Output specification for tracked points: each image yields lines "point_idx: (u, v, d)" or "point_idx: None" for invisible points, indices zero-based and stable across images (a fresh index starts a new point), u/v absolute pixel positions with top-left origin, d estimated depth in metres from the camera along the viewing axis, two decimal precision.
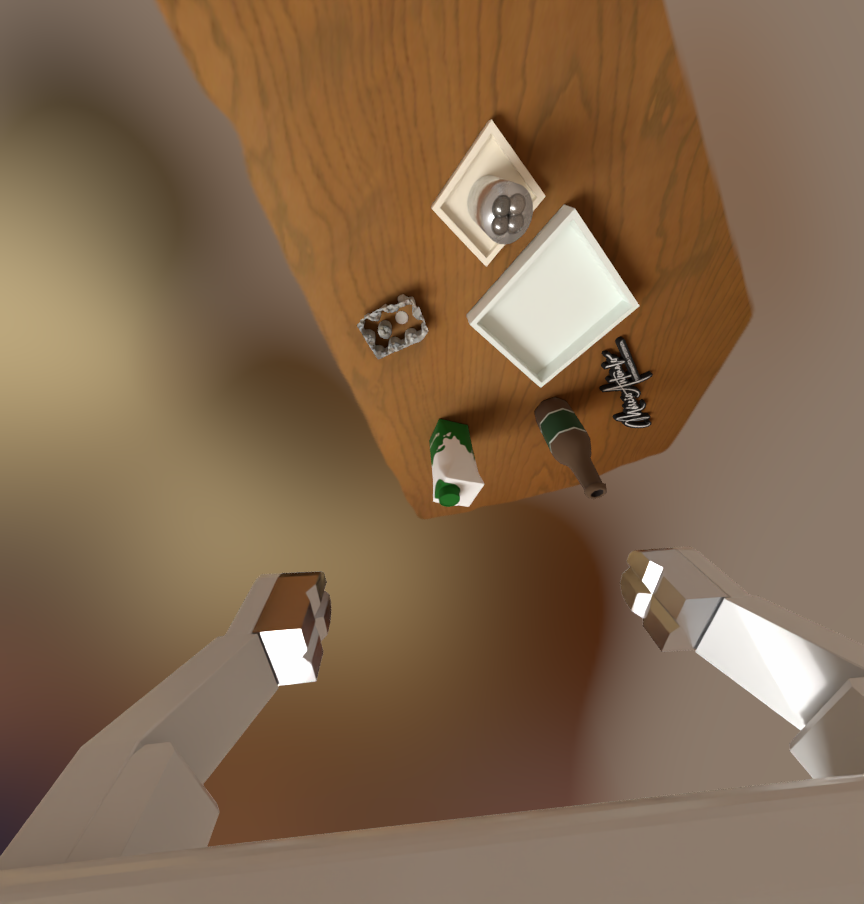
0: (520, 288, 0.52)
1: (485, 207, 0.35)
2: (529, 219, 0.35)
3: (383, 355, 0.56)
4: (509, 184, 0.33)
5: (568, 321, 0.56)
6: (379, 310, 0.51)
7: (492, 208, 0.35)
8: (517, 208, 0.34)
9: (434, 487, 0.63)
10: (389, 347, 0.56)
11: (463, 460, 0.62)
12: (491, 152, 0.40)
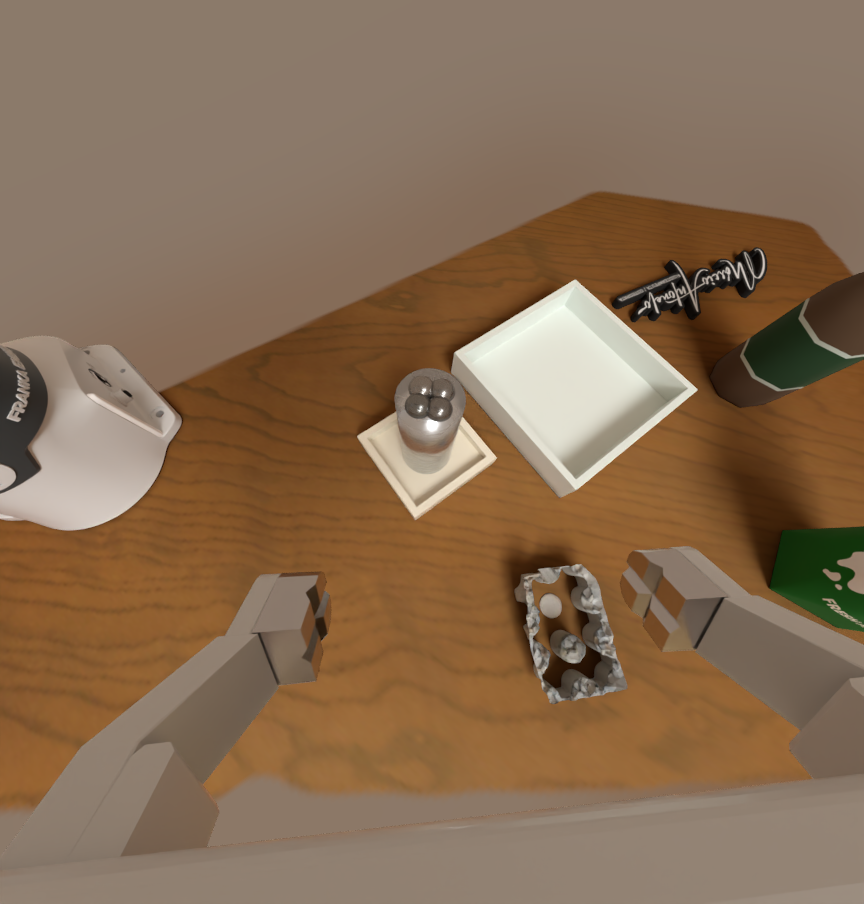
0: (532, 418, 0.38)
1: (413, 427, 0.24)
2: (442, 372, 0.25)
3: (619, 672, 0.27)
4: (396, 394, 0.24)
5: (585, 361, 0.41)
6: (532, 643, 0.29)
7: (416, 418, 0.24)
8: (424, 383, 0.24)
9: None
10: (603, 651, 0.28)
11: None
12: (384, 441, 0.36)
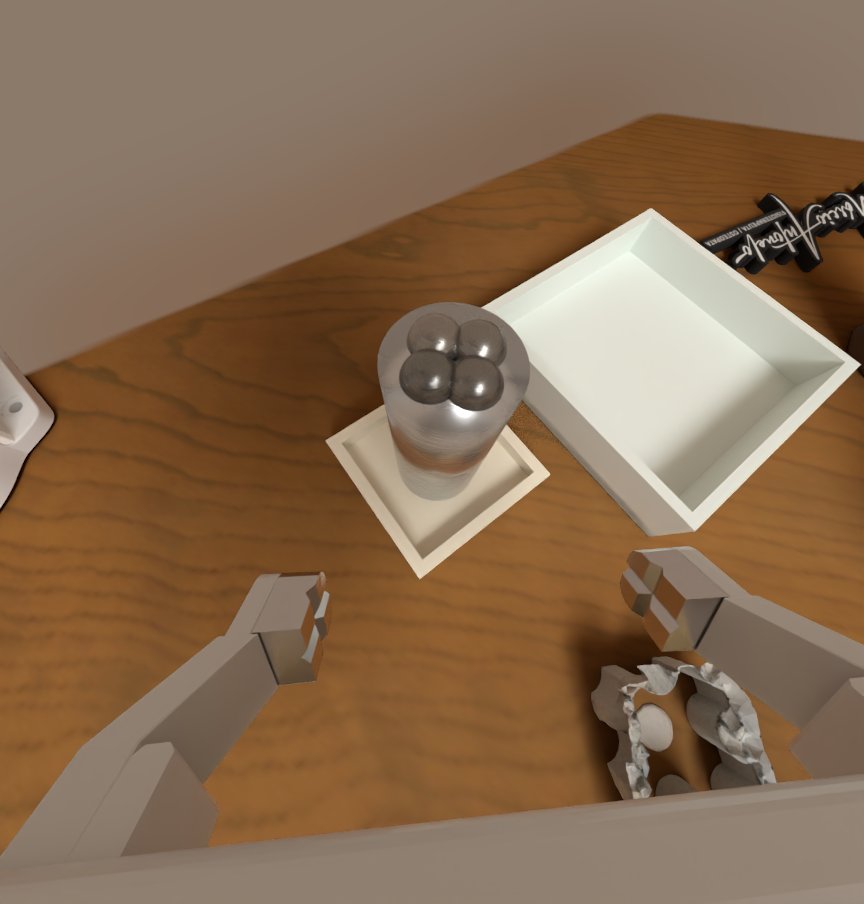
0: (598, 411, 0.25)
1: (418, 423, 0.11)
2: (477, 310, 0.12)
3: None
4: (381, 353, 0.11)
5: (668, 328, 0.28)
6: None
7: (425, 403, 0.11)
8: (441, 326, 0.11)
9: None
10: None
11: None
12: (370, 447, 0.23)
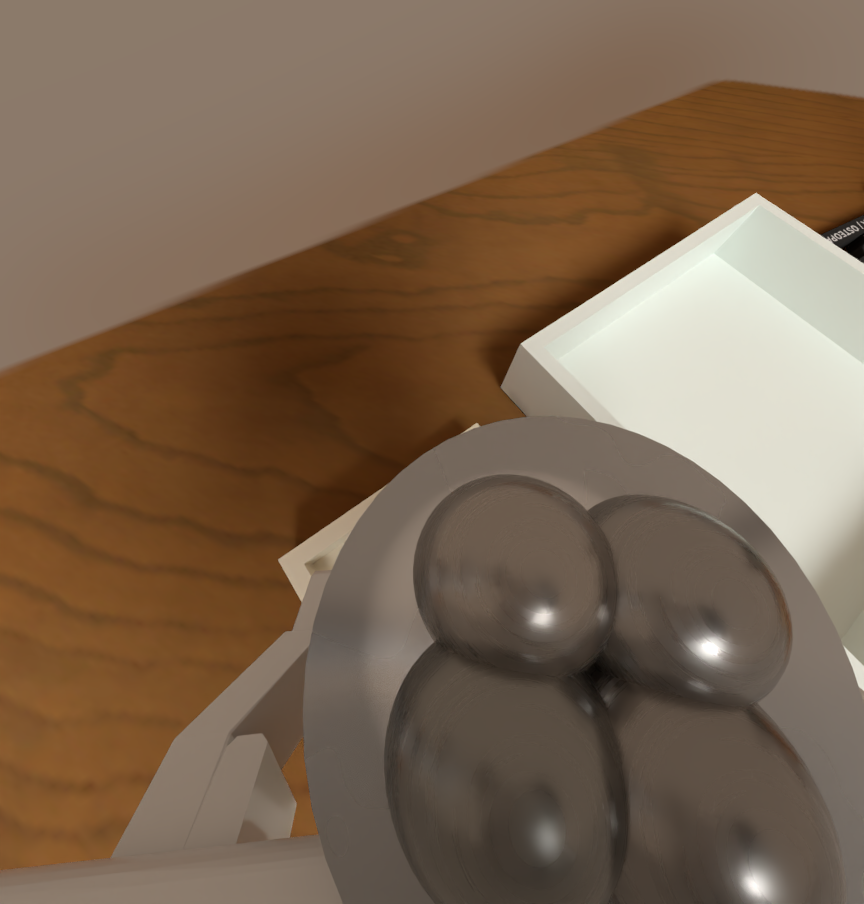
0: None
1: None
2: (630, 445, 0.04)
3: None
4: (321, 635, 0.03)
5: (783, 363, 0.19)
6: None
7: None
8: (556, 578, 0.03)
9: None
10: None
11: None
12: None
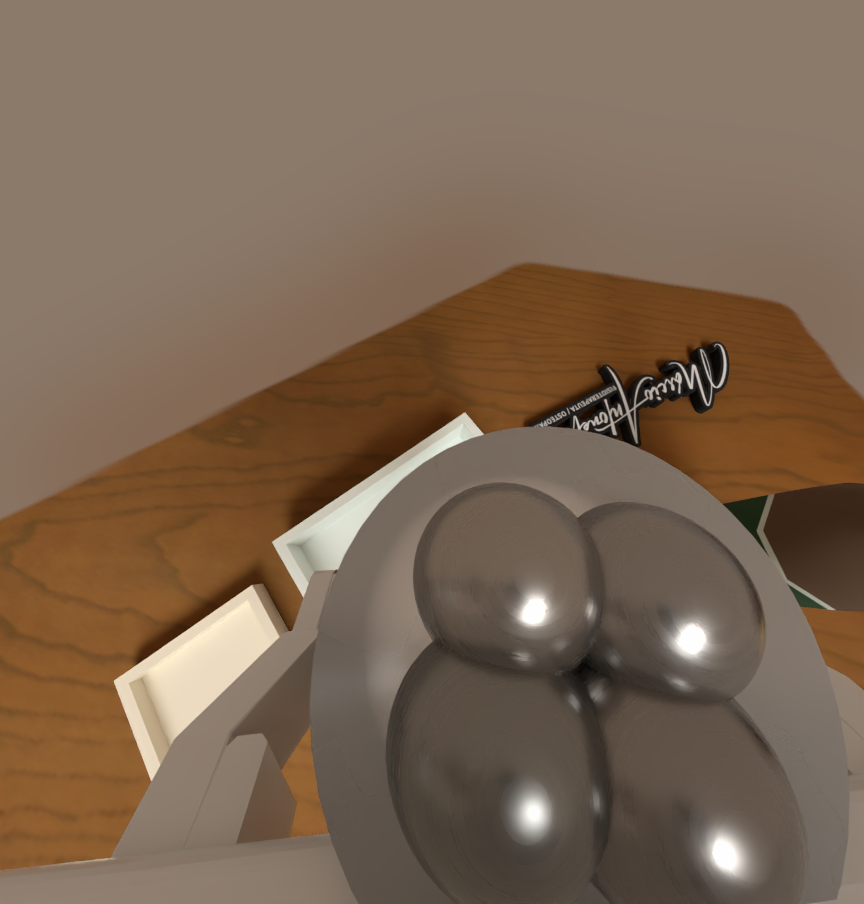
0: None
1: None
2: (619, 454, 0.04)
3: None
4: (327, 635, 0.03)
5: None
6: None
7: None
8: (546, 581, 0.03)
9: None
10: None
11: None
12: (166, 675, 0.25)
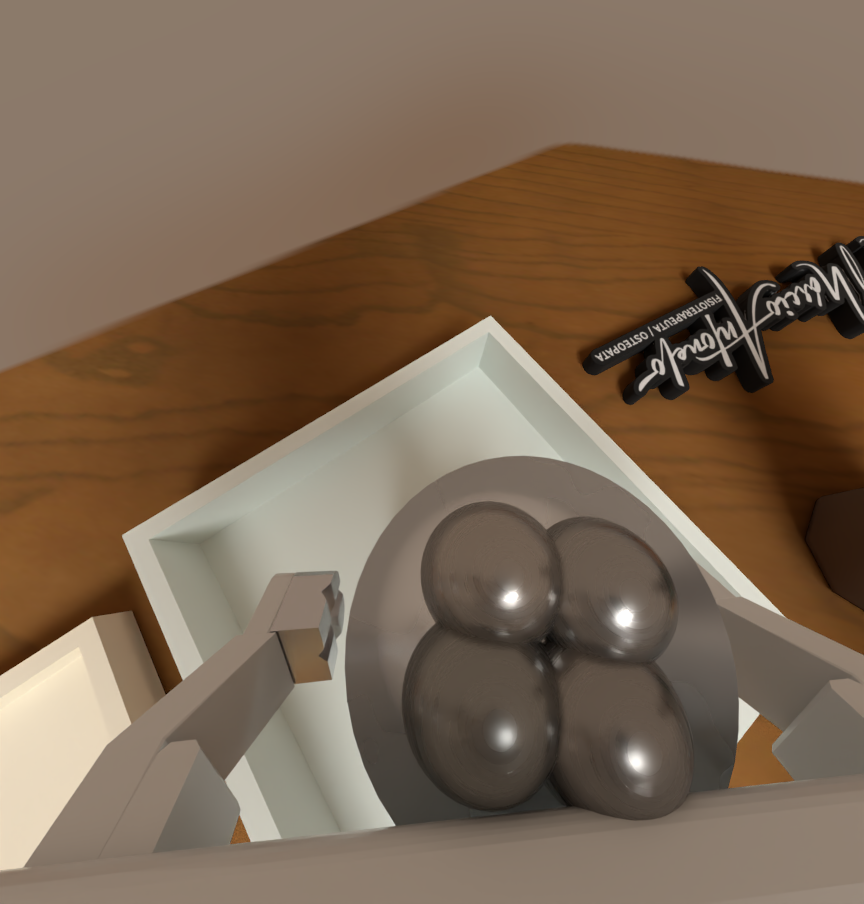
0: None
1: None
2: (582, 478, 0.05)
3: None
4: (356, 618, 0.04)
5: None
6: None
7: (476, 804, 0.04)
8: (518, 577, 0.04)
9: None
10: None
11: None
12: None
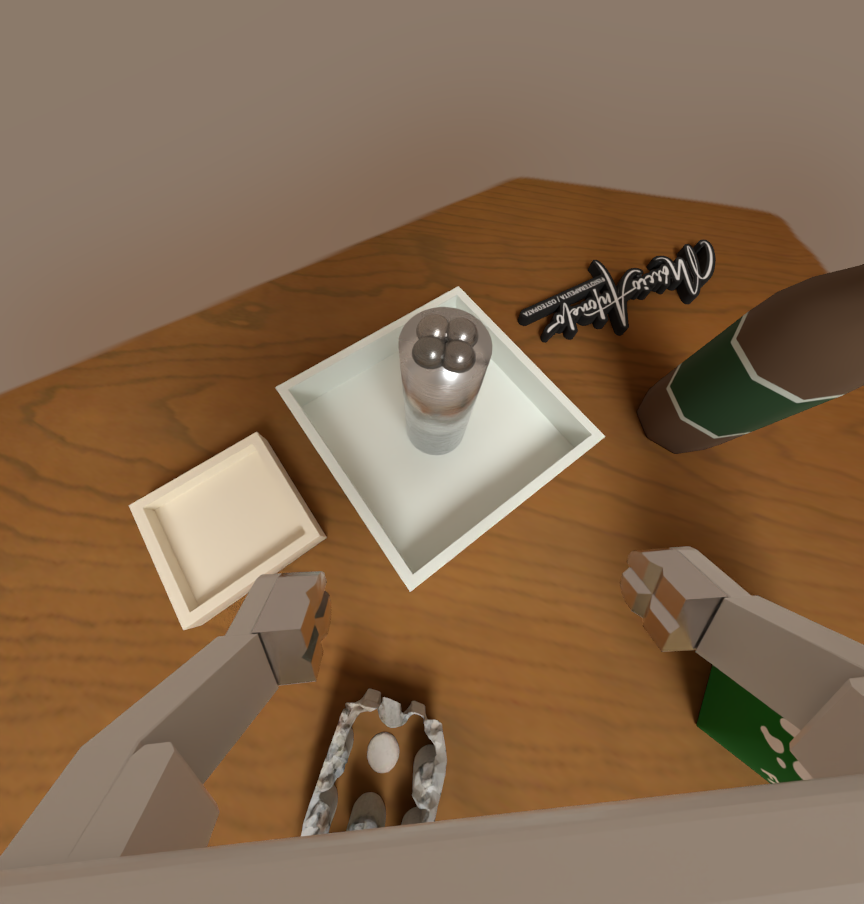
0: (387, 474, 0.28)
1: (423, 380, 0.18)
2: (460, 312, 0.19)
3: None
4: (400, 338, 0.18)
5: None
6: (315, 800, 0.19)
7: (427, 368, 0.18)
8: (437, 322, 0.18)
9: None
10: None
11: None
12: (176, 508, 0.26)
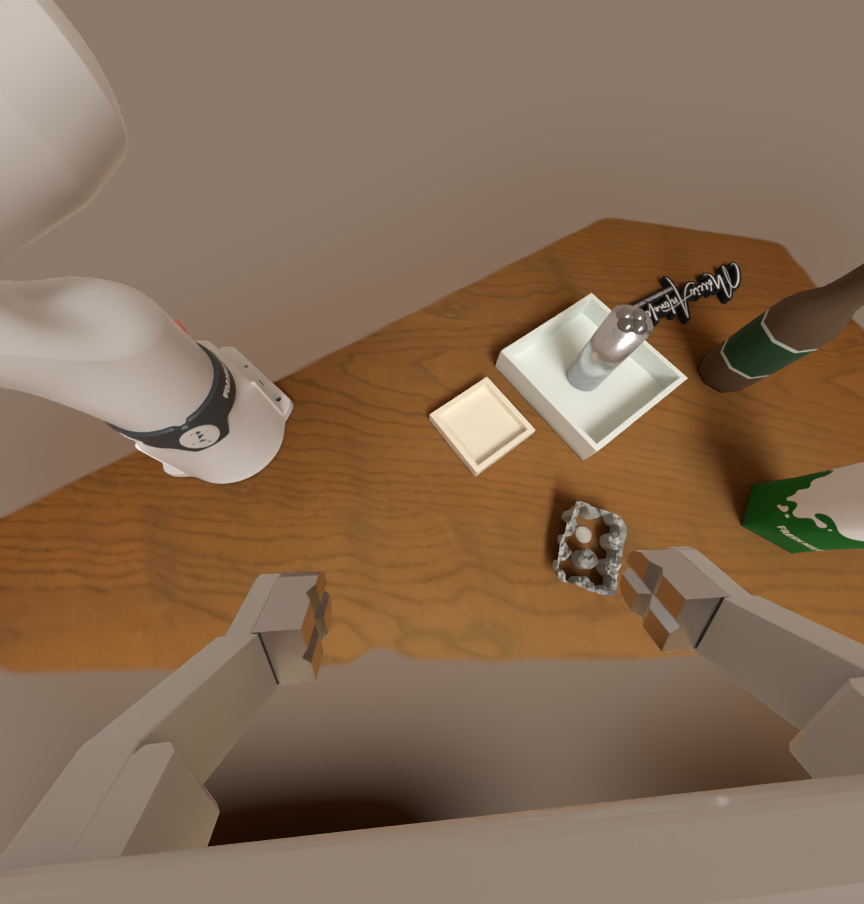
0: (560, 401, 0.49)
1: (624, 338, 0.38)
2: (634, 307, 0.40)
3: (614, 587, 0.38)
4: (610, 319, 0.39)
5: None
6: (562, 541, 0.40)
7: (626, 332, 0.39)
8: (629, 311, 0.39)
9: None
10: (609, 571, 0.39)
11: (860, 478, 0.33)
12: (448, 418, 0.47)
